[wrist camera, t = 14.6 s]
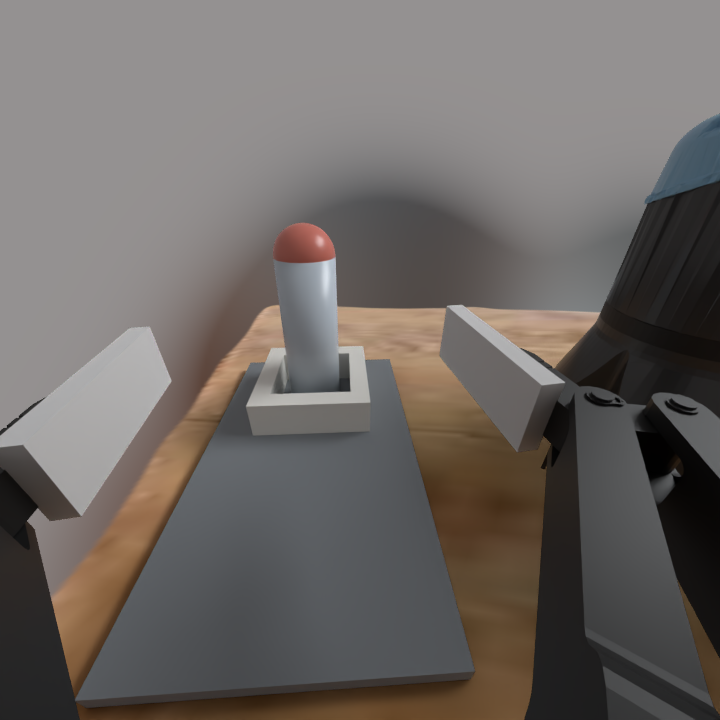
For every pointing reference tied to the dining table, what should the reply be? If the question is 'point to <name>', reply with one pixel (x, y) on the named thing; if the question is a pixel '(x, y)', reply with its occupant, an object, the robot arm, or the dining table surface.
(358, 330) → the dining table surface
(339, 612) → the jig
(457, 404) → the dining table surface
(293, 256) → the red-tipped grey joystick
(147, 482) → the dining table surface
